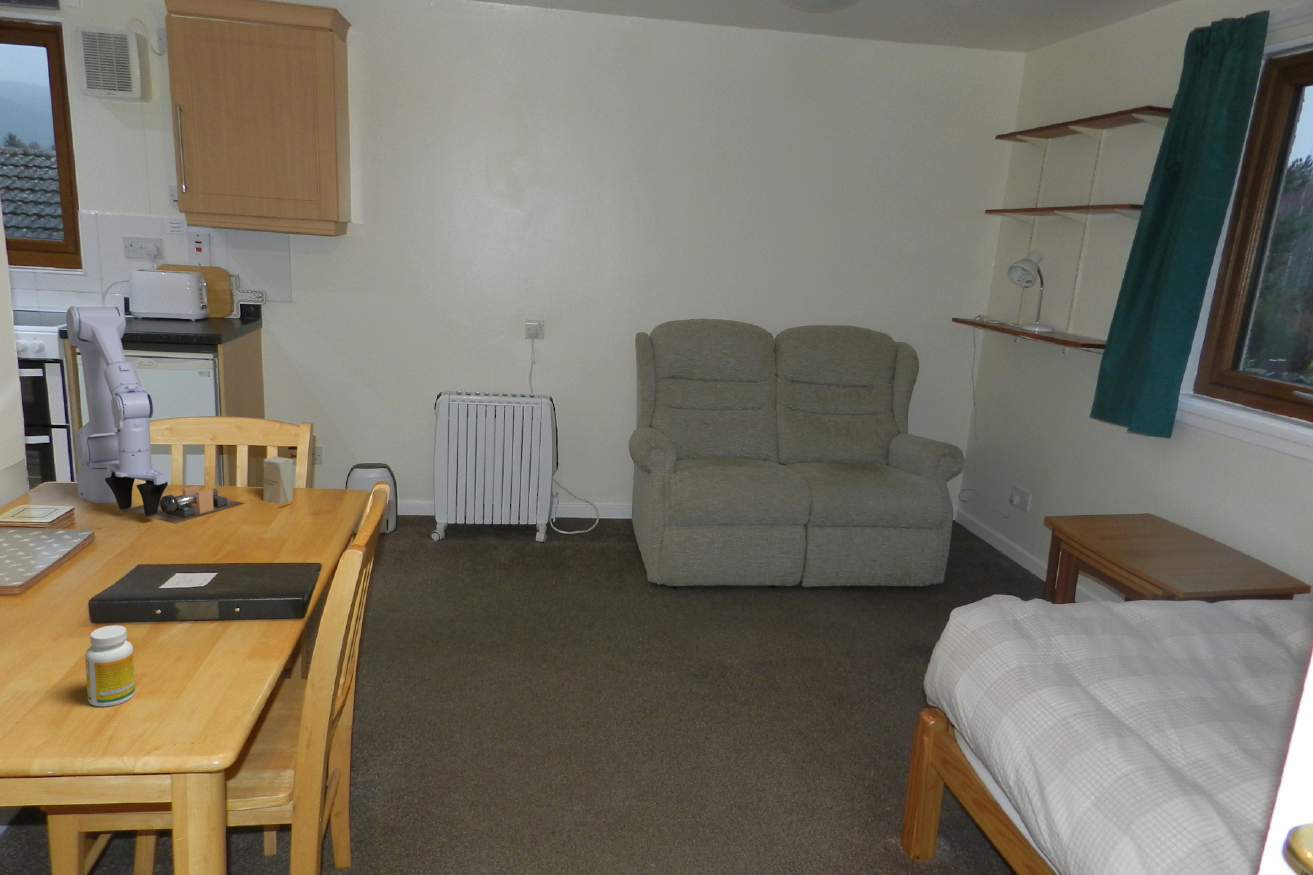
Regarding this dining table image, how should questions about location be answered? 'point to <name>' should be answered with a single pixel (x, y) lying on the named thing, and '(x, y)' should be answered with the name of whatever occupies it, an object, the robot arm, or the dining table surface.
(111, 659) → the supplement bottle
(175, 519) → the board
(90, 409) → the robot arm
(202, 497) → the bracket
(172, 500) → the shaft
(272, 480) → the box
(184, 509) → the supports
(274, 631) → the dining table surface
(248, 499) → the dining table surface
